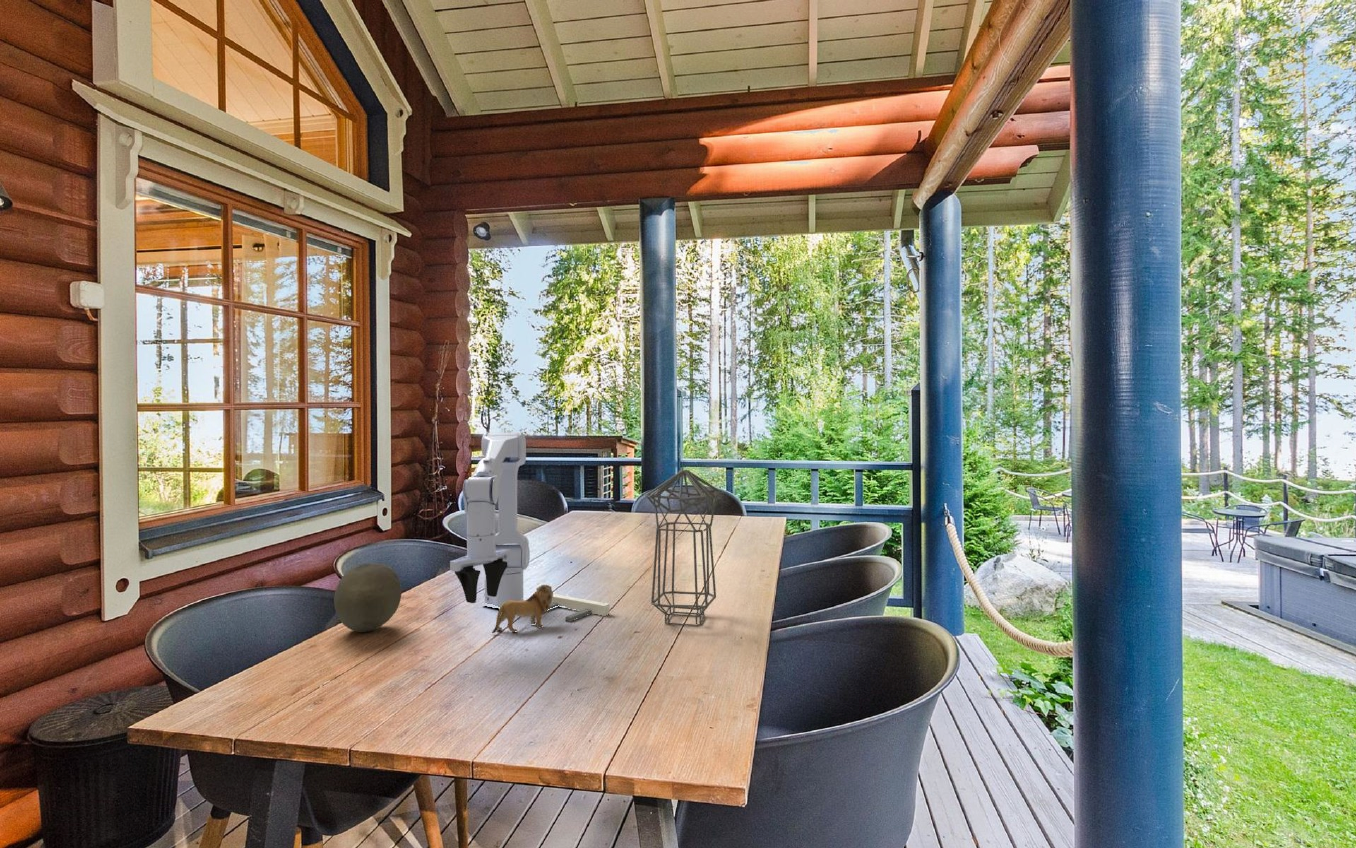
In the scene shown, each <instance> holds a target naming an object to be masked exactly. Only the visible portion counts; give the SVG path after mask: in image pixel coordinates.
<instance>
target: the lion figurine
mask: <svg viewBox="0 0 1356 848" xmlns="http://www.w3.org/2000/svg"><path fill="white" fill-rule="evenodd" d="M553 594H554V592H553V590H552V586H551V585H549V584H541V585H540V586H538V587H537V588H536V591H535V592H534V593H533V594H531V596H530V597H528V598H527V599H524V601H514V600H510V601H507V602H505V603H504V604H503V605H502V606H501V607H500V609H499V610H498V611H497V615H496V622H495V626H494V629H493V630H492V632H491V633H492V634H495V633H496V632H497V630H503V628H502V627H501V625H502V623H503V622H504V621H505V620H507V626H506V627H507V628H508V629H509V630H510V632H511V631H512V632H515V631H517V632H518V629H516V628H514V627H513V623H514V622H515V618H516V616H518V617H521V618H525V617H526V618H527V617H530V625H531V624H535V623H536V625H535V626H536V627H537V626H538V627H542V626H543V627H544V625H543V624H541V622H542V619H543V617H542V616H543V614H544V612H545V613H547V612H548V611H547V610H548V609H549V606H550V604H551V602H552V597H553ZM546 611H547V612H546ZM538 627H537V628H538ZM512 632H511V633H512Z"/></svg>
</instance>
